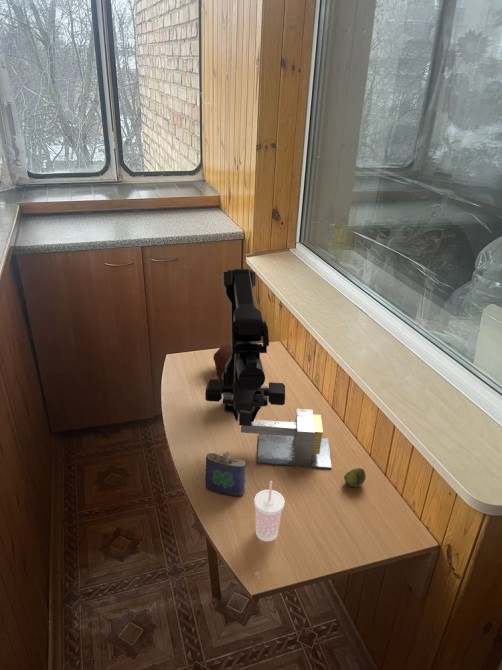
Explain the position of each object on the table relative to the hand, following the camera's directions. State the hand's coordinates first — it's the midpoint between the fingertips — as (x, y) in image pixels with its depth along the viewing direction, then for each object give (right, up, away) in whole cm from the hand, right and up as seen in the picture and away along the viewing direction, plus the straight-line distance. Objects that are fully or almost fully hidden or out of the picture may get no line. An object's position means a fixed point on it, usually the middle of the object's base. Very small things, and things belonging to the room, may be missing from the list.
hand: (244, 420), depth 126 cm
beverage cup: (+5, -20, -19) cm, 28 cm away
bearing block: (+12, -8, +4) cm, 15 cm away
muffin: (-5, +8, +34) cm, 36 cm away
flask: (-5, -15, -9) cm, 18 cm away
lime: (+26, -14, -6) cm, 30 cm away
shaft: (+8, -3, +1) cm, 8 cm away
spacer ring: (+18, -3, +1) cm, 18 cm away
